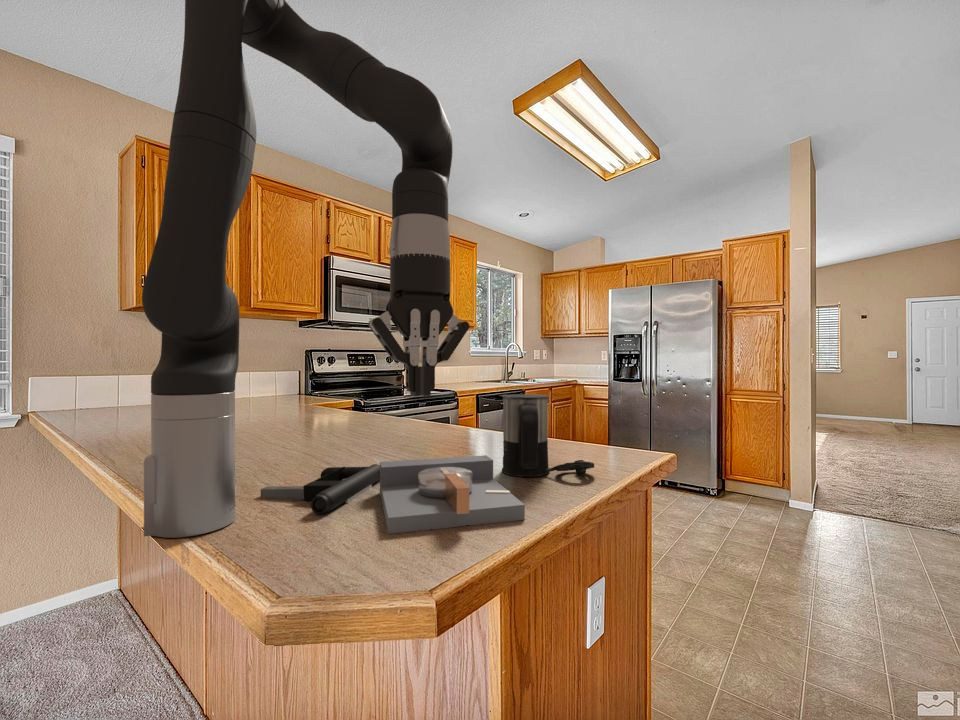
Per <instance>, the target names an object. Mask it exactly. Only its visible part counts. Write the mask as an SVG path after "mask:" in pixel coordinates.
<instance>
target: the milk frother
mask: <svg viewBox="0 0 960 720" xmlns="http://www.w3.org/2000/svg"><path fill="white" fill-rule="evenodd" d="M501 397H502V400H503V406H502V407H503V410H502V411H503V413H502V416H503V417H502V418H503V419H502V420H503V421H502V423H503V424H502V426H503V427H502V429H503V430H502V431H503V432H502V433H503V438H502V439H503V440H502V443H503V446H502V447H503V448H502V449H503V454H502V468H501V472H502V473H503V472H504V474H506V475H510V476H514V477H528V478H529V477H532V478H533V477H542V476H545V475H548V474H549V473H550V472H554V471H556V472H568V471H575V473H576V475H584V474H586V473H587V470H588V469H594V468H595V463H594V462H592V461H585V460H583V459H578V460H574V461H571V462H566V463H562V464H558V465H555V466H553V467H549V449H548V446H549V441H548V437H549V436H548V433H549V431H548V430H549V429H548V425H549V423H548V422H549V421H548V420H549V419H548V418H549V416H548V415H549V413H548V412H549V410H548V409H549V407H548V406H549V405H548V400H549V397H550V395H547V394H535V393H534V394H531V393H530V394H529V393H528V394H526V393H525V394H523V393H521V394H520V393H515V394H514V393H513V394H502V395H501Z"/></svg>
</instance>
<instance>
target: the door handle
mask: <svg viewBox="0 0 960 720" xmlns="http://www.w3.org/2000/svg"><path fill="white" fill-rule="evenodd" d="M378 481H380V464H376V463H374V464H370V465H369V466H340V467H339V466H337V467H336V466H335V467H331V466H330V467H327V468H324V469H323V470H322V471H321V474H320V477H318V478H317V479H315V480H313V481H311V482H309V483H306V484H304V485H293V486H291V485H290V486H289V485H287V486H286V485H284V486H283V485H282V486H281V485H279V486H278V485H277V486H276V485H275V486H269V485H268V486H265V487H263V488H260V491H259V492H260V498H262V499H275V500H276V499H279V500H280V499H281V500H290V499H293V500H292V501H294V500H295V501H296V500H297V501H298V500H299V501H300V500H302V501H308V502H307V503H310V508H311V510H312V512H313V513H314V514H316V515H322V514H327V513H329V512H331V511H332V510H334V509H336V508H338V507H339V506H341V505H342V504H349V503H348V502H350V503H351V502H353V501H354V500H355V499H357V498H359V497H360V496H361V494H362V495H363V494H365V493H367V490H368V491H369V490H370V488H371V489H372V488H373V486H372V485H374V484H375V483H377V482H378ZM364 492H365V493H364ZM359 495H360V496H359ZM356 497H357V498H356ZM353 499H354V500H353ZM344 502H345V503H344Z"/></svg>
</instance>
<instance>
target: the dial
mask: <svg viewBox="0 0 960 720" xmlns="http://www.w3.org/2000/svg"><path fill="white" fill-rule="evenodd" d="M471 491H472V471H470V470H468V469H465V468H459V467H436V468H429V469H425V470H422V471H420V472H419V473H418V492H419V493H420V494H422V495H425V496H429V497H437V498H446V499H447V501H448V502H449V504H450V505H451V507H452V508H453V510H454V511H455V512H456V514H466V513H469V493H470V492H471Z"/></svg>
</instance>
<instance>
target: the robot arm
mask: <svg viewBox="0 0 960 720" xmlns="http://www.w3.org/2000/svg"><path fill="white" fill-rule="evenodd" d="M183 33H184V35H183V48H182V56H181V57H182V58H181V66H180V67H181V68H180V73H179V85H178V90H177V91H178V93H177V97H176V102H175V108H174V112H173V118H172V125H171V131H170V140H169V148H168V150H169V151H168V160H167V161H168V162H167V166H166V167H167V169H166V175H165V181H164V182H165V183H164V191H163V200H162V201H163V202H162V211H161V212H162V213H161V219H160V225H159V229H158V232H157V236H156V239H155V244H154V247H153V251H152V254H151V258H150V262H149V265H148V268H147V272H146V275H145V279H144V283H143V287H142V292H141V304H142V309H143V311H144V314H145V316H146V318H147V319H148V321H149V323H150V324H151V325H152V327H154V328H155V329H156V330H158V331H159V332H160V333H161V345H160V346H161V347H160V348H161V349H160V357H159V361H158V364H157V366H156V367H155V369H154V370H153V372H152V374H151V376H150V393H151V394H150V407H151V408H150V428H151V429H150V436H151V437H150V455H148V456H146V457H145V458H144V460H143V537H159V538H167V539H168V538H169V539H170V538H172V539H173V538H175V539H176V538H187V537H193V536H199V535H203V534H207V533H211V532H214V531H217V530H220V529H222V528H225V527H227V526H228V525H231V524H232V523H233V522H234V521H235V519H236V379H237V378H236V377H237V374H238V373H237V372H238V369H239V357H240V356H239V354H240V353H239V352H240V307H239V301H238V298H237V296H236V294H235V292H234V290H233V289H232V288H231V287H230V286H229V284H227V282H226V277H227V276H226V273H227V272H226V271H227V270H226V269H227V266H226V265H227V251H228V241H229V237H230V231H231V227H232V225H233V221H234V219H235V217H236V215H237V213H238V211H239V208H240V206H241V204H242V202H243V200H244V197H245V195H246V193H247V191H248V187H249V185H250V184H249V183H250V180H251V176H252V170H253V165H254V164H253V163H254V160H255V159H254V158H255V151H256V143H257V121H256V116H255V115H256V114H255V110H254V109H255V108H254V103H253V100H252V96H251V91H250V87H249V83H248V79H247V74H246V73H247V72H246V69H245V64H244V58H243V44H245V45H247V46H248V47H250V48H252V49H254V50H255V51H258V52H261V53H262V54H264V55H267V56H268V57H270V58H273V59H275V60H277V61H279V62H280V63H282V64H283V65H286V66H287V67H289V68H291V69H292V70H294V71H296V72H298V73H299V74H300V75H302V76H303V77H305V78H306V79H308V80H309V81H310V82H312V83H313V84H315V85H316V86H317V87H319V89H321V90H322V91H323V92H325V93H326V94H327V95H329V96H330V97H332V98H333V99H334V100H335V101H337V102H338V103H339V104H340V105H341V106H344V108H346V109H347V110H349V112H351V113H353V114H354V115H355V116H356V117H358V118H360V119H362V120H363V121H366V122H369V123H375V124H377V125H378V126H380V127H381V128H382V129H383V130H384V131H386V132H387V134H389V135H390V136H391V137H392V138H393V140H394V141H395V143H396V144H397V146H398V147H399V148H400V151H401V157H402V158H401V160H402V161H401V163H402V165H401V171H400V172H399V173H398V174H397V175H396V176H395V178H394V179H393V183H392V190H391V203H392V204H391V205H392V206H391V208H392V209H391V211H392V212H391V218H392V219H391V220H392V221H391V228H390V229H391V230H390V235H389V237H390V238H389V248H388V255H389V301H388V302H387V304H386V307H385V311H384V312H383V313H381V314H380V315H379V316H376V317H375V318H371V319H370V320H369V321H368V322H367V323H368V327H369V329H370V330H371V331H372V333H373V334H374V336H375V337H376V338H377V340H378V341H379V343H380V344H381V346H382V347H383V349H384V350H385V352H386V353H387V354H388V356H389V358H390V359H391V360H392V361H395V362H398V363H401V364H403V365H404V368H405V389H406V391H407V392H409V394H410V396H411V397H414V398H415V397H421V396H422V397H429V396H430V397H431V395H432V393H431V392H434V390H435V387H436V366H437V364H439V363H442V362H444V361H448V360H450V358H451V356H452V355H453V354H454V353H455V350H456V349H457V347H458V346H459V344H460V343H461V341H462V340H463V338H464V336H465V335H466V334H467V332H468V330H469V329H470V323H469V322H468V321H463V320H461V319H460V318H459V317H458V316H456V314H454V308H453V306H452V304H451V237H450V231H449V230H450V229H449V193H448V185H449V181H450V175H451V169H452V161H453V153H454V152H453V150H454V149H453V147H454V146H453V133H452V128H451V126H450V123H449V121H448V119H447V118H448V117H447V116H446V113H445V111H444V109H443V106H442V104H441V102H440V100H439V98H438V96H437V95H436V94H435V93H434V92H433V91H432V90H431V89H430V88H429V87H428V86H426V85H425V84H424V83H423V82H422V81H420V80H419V79H417V78H416V77H413V76H411V75H409V74H407V73H405V72H402V71H401V70H398V69H396V68H394V67H393V68H392V67H389V66H386V65H385V64H384V63H383V62H381V61H380V60H379V59H377V58H376V57H375V56H374V55H372V54H371V53H370V52H369V51H367V50H365V49H364V48H363V47H362V46H360V45H358V44H357V43H355V42H354V41H353V40H351V39H349V38H348V37H345V36H343V35H341V34H339V33H335V32H332V31H327V30H326V31H325V30H319V29H316V28H315V27H313V26H312V25H310V24H309V23H307V22H306V21H305V20H304V19H303V18H302V17H301V16H300V15H299V14H298V13H297V12H296V11H295V10H294V9H293V8H292V7H291V5H289V3H288V2H287V1H286V0H184V31H183ZM391 322H392V323H391ZM392 324H393V325H394V326H395V328H396V329H397V331H398V332H399V334H401V336H402V346H403V348H402V347H401V346H400V344H399V343H398V341H397V339H396V338H395V337H394V335H393V334H392V333H391V330H392ZM447 324H448V325H447ZM446 326H447V328H446ZM445 328H446V330H447V332H448V334H447V335H446V337H445V339H443V341H442V343H441V344H440V345H439V340H440V339H439V337H440V334H441V333H442V332H443V330H444V329H445ZM438 347H439V348H438ZM420 348H421V358H420ZM420 359H421V366H419V363H420Z"/></svg>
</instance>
